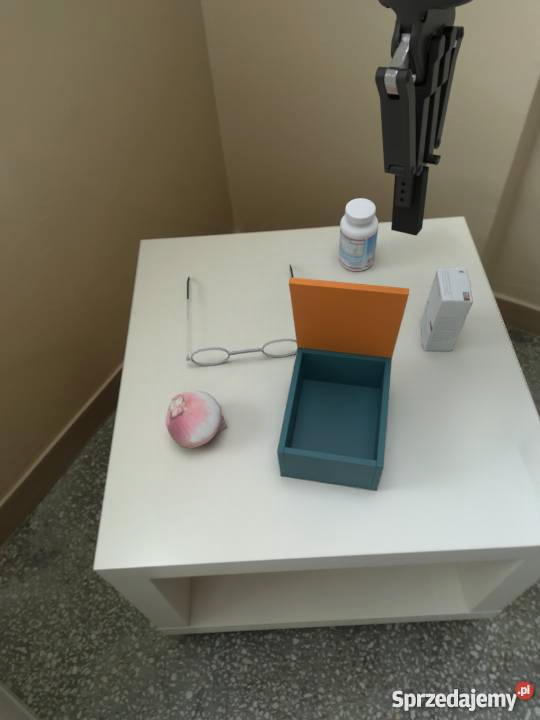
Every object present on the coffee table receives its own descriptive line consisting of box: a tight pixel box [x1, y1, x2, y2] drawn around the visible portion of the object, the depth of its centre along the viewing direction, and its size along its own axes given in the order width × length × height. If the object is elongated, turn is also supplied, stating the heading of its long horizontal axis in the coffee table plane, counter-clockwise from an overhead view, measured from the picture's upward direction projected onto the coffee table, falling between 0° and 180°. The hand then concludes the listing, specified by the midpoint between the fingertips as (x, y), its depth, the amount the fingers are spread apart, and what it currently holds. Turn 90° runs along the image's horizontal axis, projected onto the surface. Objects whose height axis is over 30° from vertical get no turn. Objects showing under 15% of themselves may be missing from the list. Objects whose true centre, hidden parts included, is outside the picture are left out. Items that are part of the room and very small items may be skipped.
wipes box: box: [276, 347, 393, 492], centre depth 70 cm, size 16×13×8 cm
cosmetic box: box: [420, 267, 474, 352], centre depth 76 cm, size 6×4×12 cm
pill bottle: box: [338, 197, 379, 272], centre depth 86 cm, size 6×6×11 cm
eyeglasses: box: [185, 264, 297, 367], centre depth 84 cm, size 18×19×4 cm
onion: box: [165, 389, 228, 449], centre depth 72 cm, size 8×8×7 cm
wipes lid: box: [288, 276, 410, 359], centre depth 63 cm, size 16×13×1 cm
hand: (406, 229), depth 54 cm, fingers closed
